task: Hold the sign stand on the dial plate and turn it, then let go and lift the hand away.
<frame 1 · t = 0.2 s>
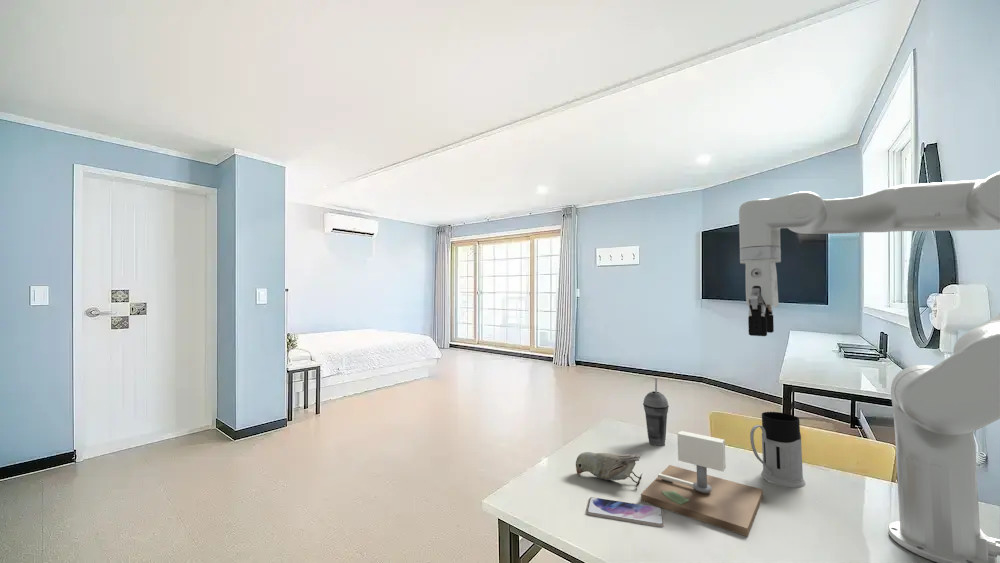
hand: (761, 333, 86), 36 cm above the table, tool pointing down, fingers open, 9 cm apart
dial plate: (702, 498, 86), on the table
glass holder: (774, 481, 94), on the table
sign stand: (689, 460, 88), point 8 cm above the table, hinge at 0.0°
smartphone: (624, 514, 81), on the table
beverage cup: (656, 444, 118), on the table
decorative bird: (608, 481, 95), on the table
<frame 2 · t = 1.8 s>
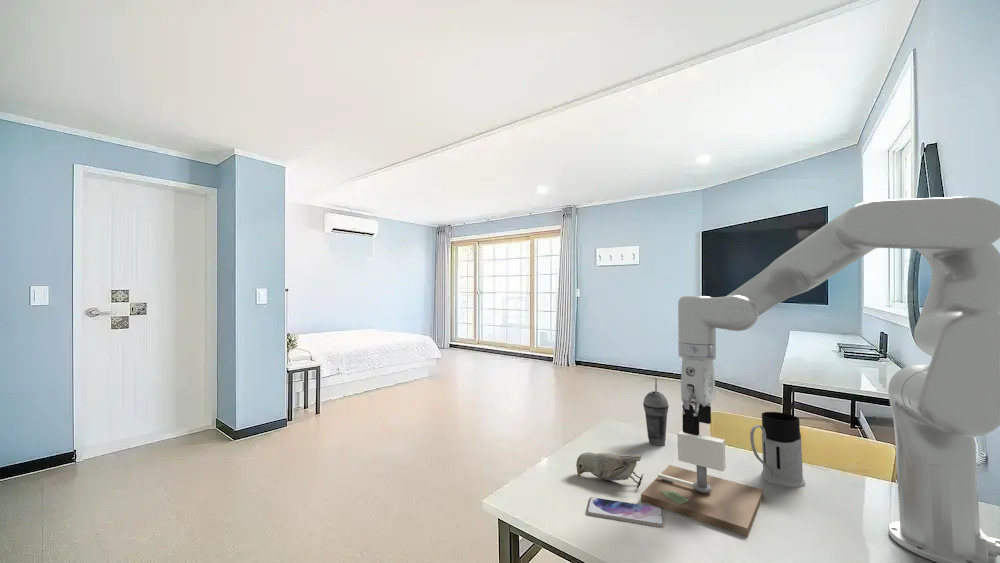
hand: (697, 427, 87), 15 cm above the table, tool pointing down, fingers open, 9 cm apart
nothing on the table moved.
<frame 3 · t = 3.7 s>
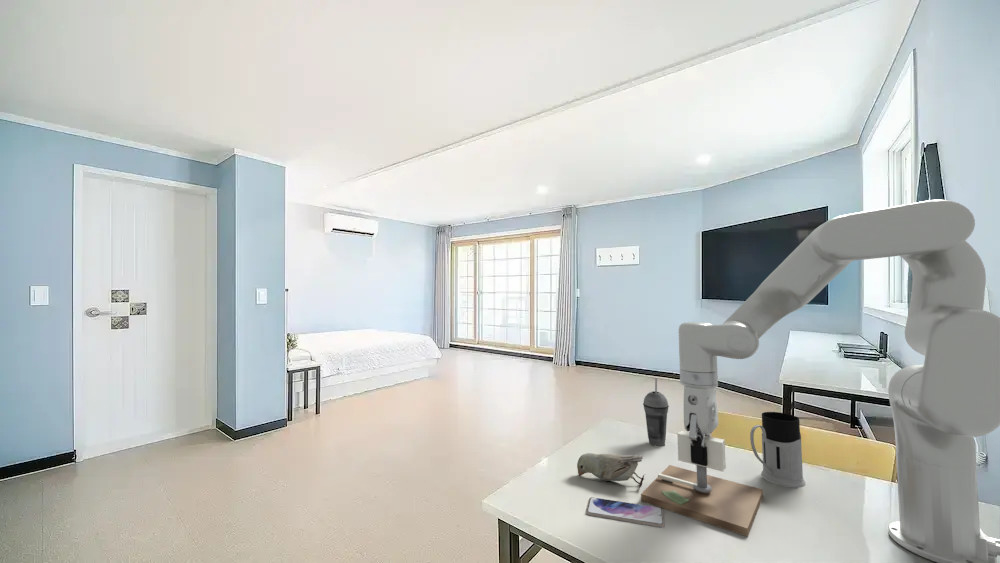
hand: (701, 460, 86), 8 cm above the table, tool pointing down, fingers closed on sign stand, 2 cm apart
sign stand: (689, 460, 88), point 8 cm above the table, hinge at 0.0°, touching gripper
everything else where it was.
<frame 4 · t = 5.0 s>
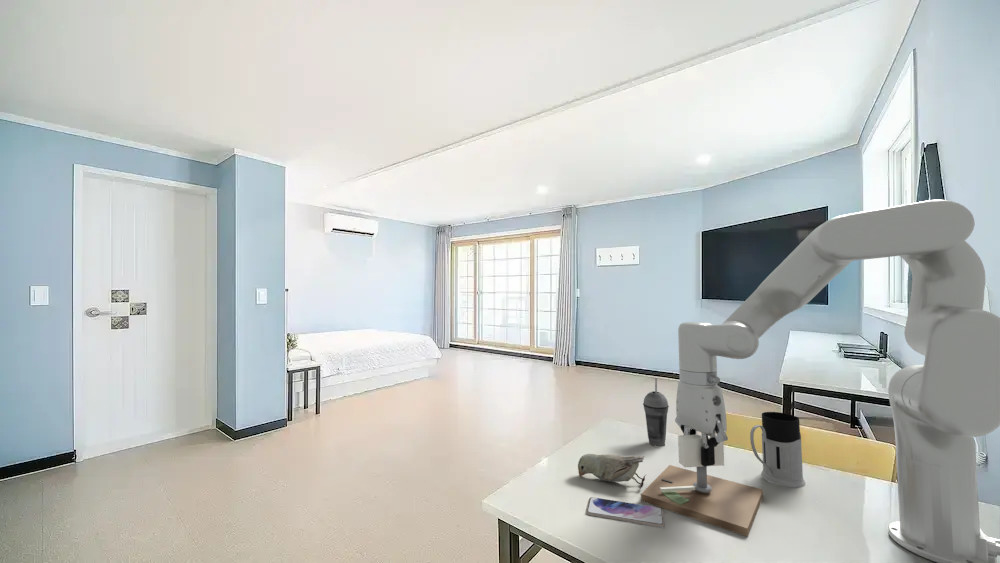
hand: (700, 460, 86), 8 cm above the table, tool pointing down, fingers closed on sign stand, 3 cm apart
sign stand: (690, 463, 86), point 8 cm above the table, hinge at 45.4°, touching gripper
everything else where it was.
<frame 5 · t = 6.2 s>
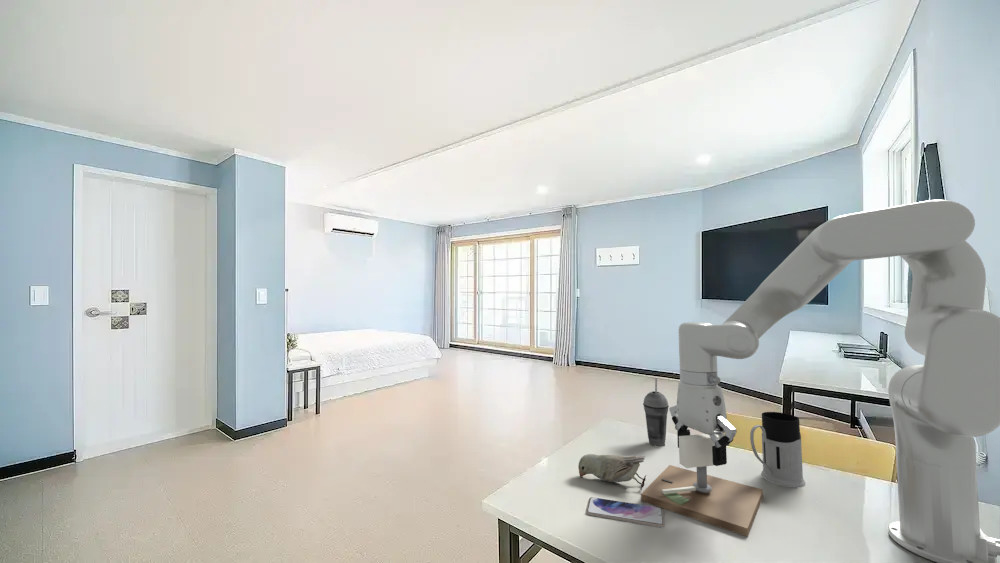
hand: (701, 455, 86), 9 cm above the table, tool pointing down, fingers open, 9 cm apart
sign stand: (691, 464, 86), point 8 cm above the table, hinge at 50.8°
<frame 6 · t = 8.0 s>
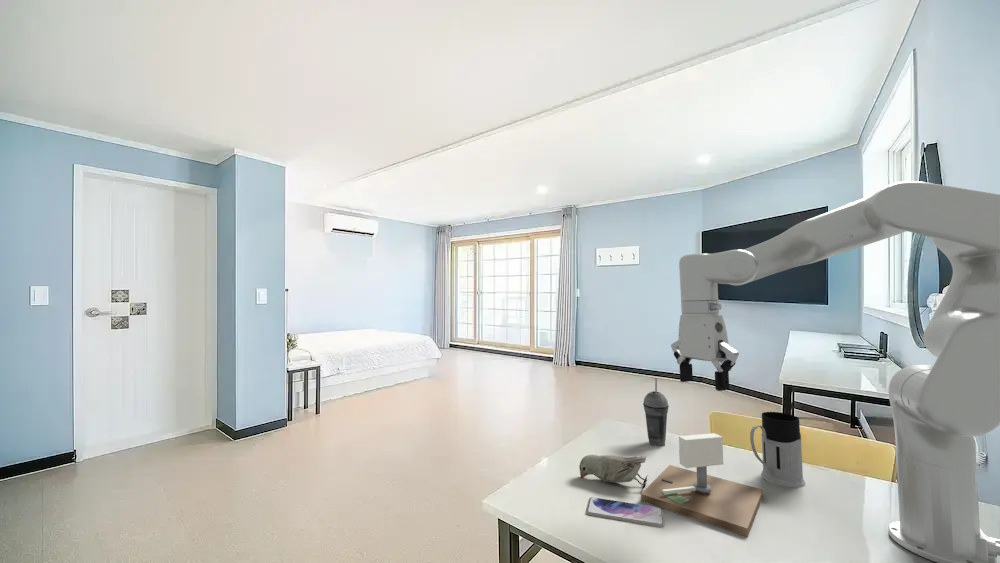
hand: (703, 385, 87), 25 cm above the table, tool pointing down, fingers open, 9 cm apart
sign stand: (691, 464, 86), point 8 cm above the table, hinge at 51.2°
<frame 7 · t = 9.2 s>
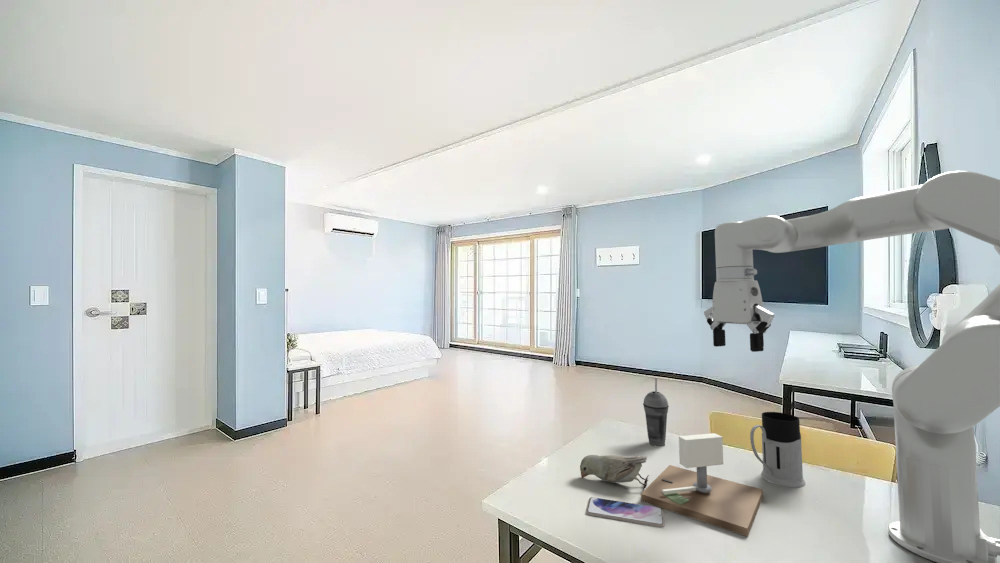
hand: (737, 348, 91), 32 cm above the table, tool pointing down, fingers open, 9 cm apart
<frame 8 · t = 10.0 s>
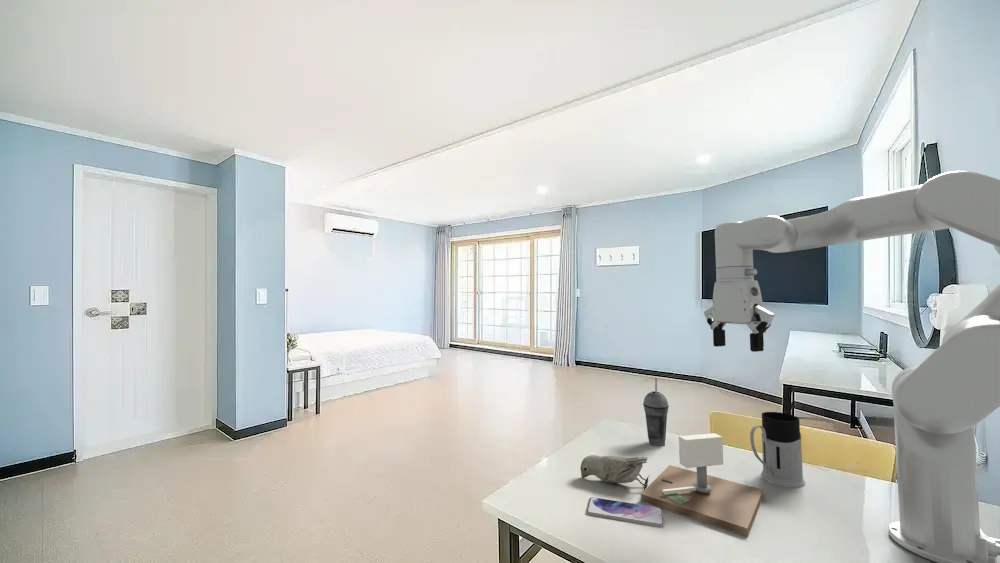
hand: (737, 348, 91), 32 cm above the table, tool pointing down, fingers open, 9 cm apart
at the end: sign stand at +51° (first picture: +0°); the gripper is holding nothing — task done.
